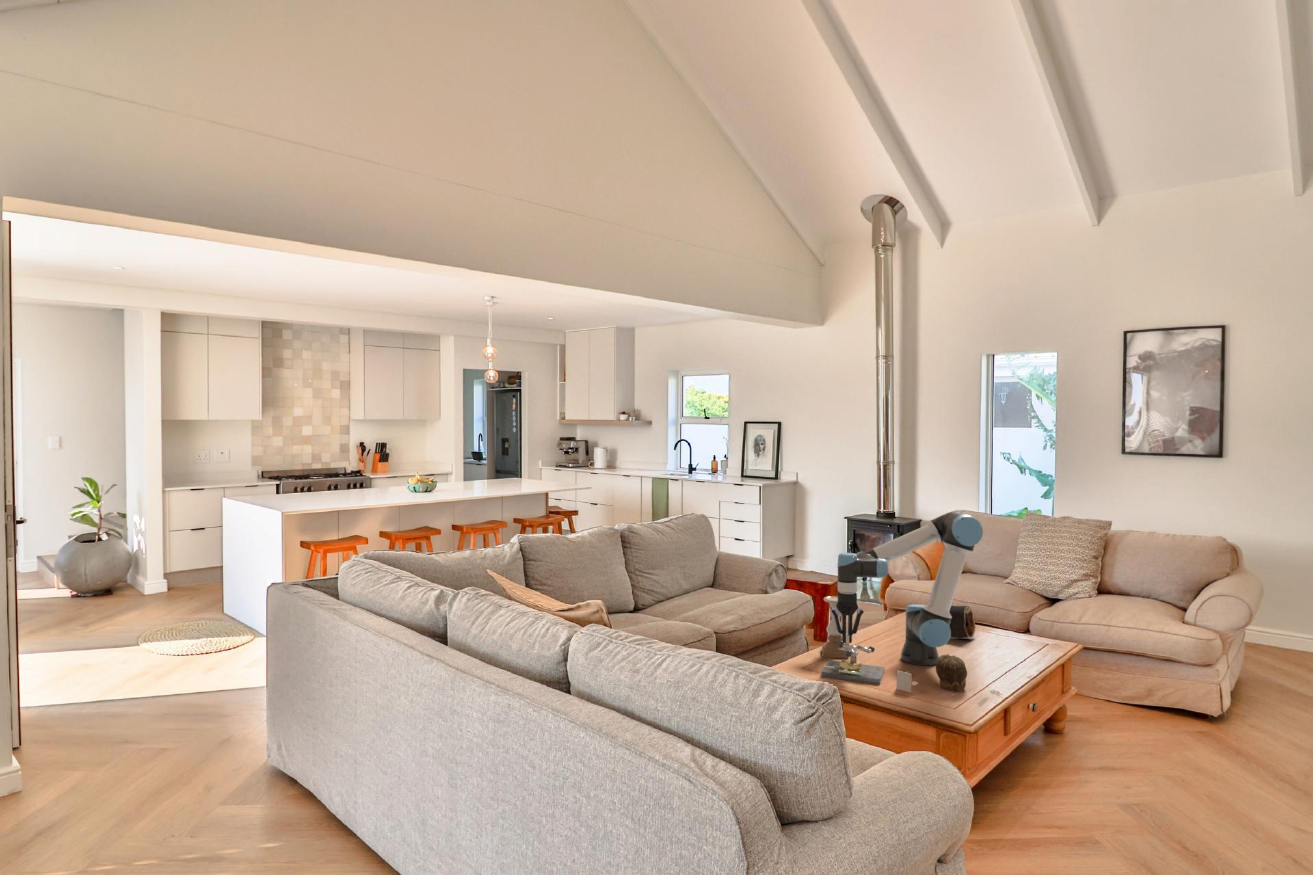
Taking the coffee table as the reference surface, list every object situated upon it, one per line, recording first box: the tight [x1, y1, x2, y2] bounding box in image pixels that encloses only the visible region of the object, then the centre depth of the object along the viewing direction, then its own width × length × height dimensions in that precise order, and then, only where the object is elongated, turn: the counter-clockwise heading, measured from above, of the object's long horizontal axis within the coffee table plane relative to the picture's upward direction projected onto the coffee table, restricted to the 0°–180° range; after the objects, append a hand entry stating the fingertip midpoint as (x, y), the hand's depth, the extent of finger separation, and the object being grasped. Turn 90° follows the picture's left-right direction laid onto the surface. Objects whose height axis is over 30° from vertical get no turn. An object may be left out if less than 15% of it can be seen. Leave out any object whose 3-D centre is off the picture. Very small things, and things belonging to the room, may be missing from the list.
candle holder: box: [821, 595, 850, 660], centre depth 334 cm, size 11×11×24 cm
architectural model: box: [896, 670, 919, 693], centre depth 290 cm, size 3×7×7 cm, turn 48°
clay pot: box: [949, 605, 976, 640], centre depth 366 cm, size 15×15×25 cm
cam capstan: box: [838, 641, 875, 672], centre depth 309 cm, size 14×14×9 cm
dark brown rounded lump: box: [935, 653, 968, 693], centre depth 293 cm, size 11×11×12 cm
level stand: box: [820, 659, 885, 686], centre depth 308 cm, size 22×16×4 cm
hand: (847, 650), depth 314 cm, fingers closed
